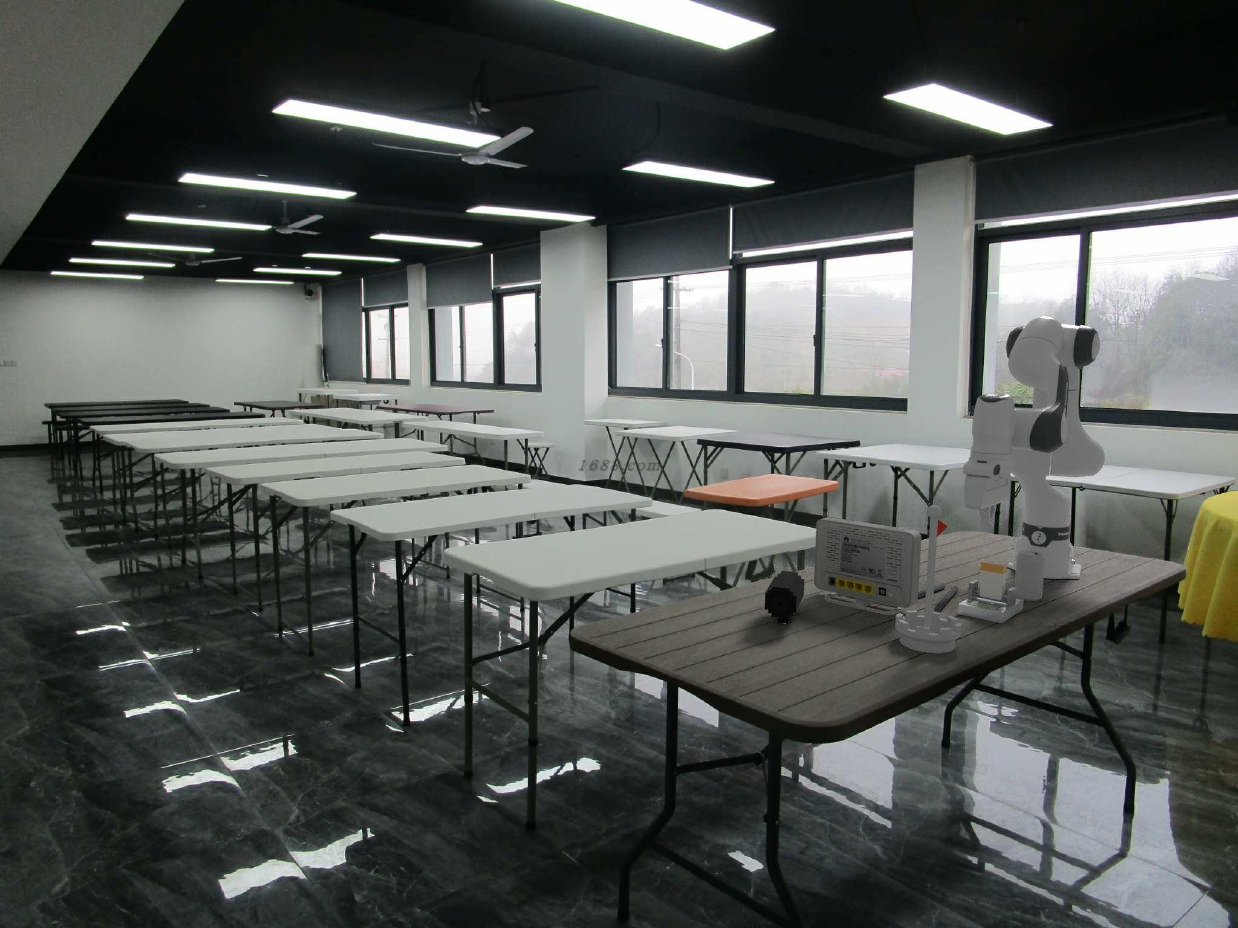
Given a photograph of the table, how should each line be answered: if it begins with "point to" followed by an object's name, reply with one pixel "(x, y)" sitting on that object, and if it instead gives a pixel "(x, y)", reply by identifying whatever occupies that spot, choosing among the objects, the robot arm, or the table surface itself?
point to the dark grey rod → (946, 599)
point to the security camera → (784, 595)
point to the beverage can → (1029, 575)
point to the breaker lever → (992, 581)
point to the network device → (867, 563)
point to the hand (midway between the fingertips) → (986, 524)
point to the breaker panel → (990, 605)
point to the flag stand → (929, 607)
